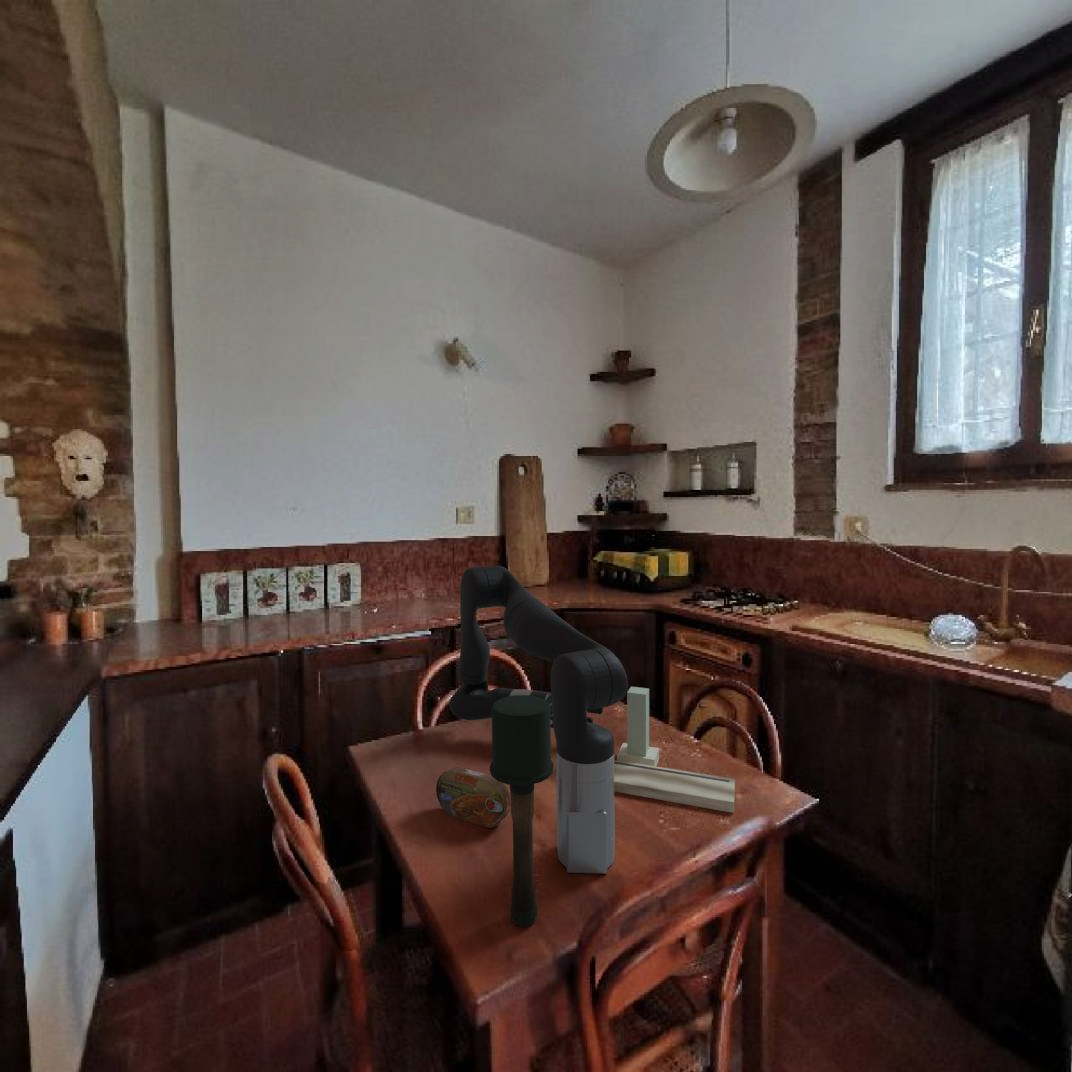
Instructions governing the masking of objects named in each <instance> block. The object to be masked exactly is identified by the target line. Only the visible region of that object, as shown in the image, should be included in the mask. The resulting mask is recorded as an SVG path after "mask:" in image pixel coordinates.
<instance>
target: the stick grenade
mask: <svg viewBox="0 0 1072 1072" xmlns="http://www.w3.org/2000/svg"><path fill="white" fill-rule="evenodd" d="M551 731H552V730H551V728H550V705H549V703H548V702H547V701H546V700H544V699H542V698H540V697H536V696H529V695H515V696H509V697H505V698H502V699H499V700H498V701H496V702H494V704H493V706H492V718H491V749H492V750H491V753H492V754H491V755H492V756H491V760H492V761H491V762H490V765H489V772H490V775H492V777H493V778H495V779H496V780H497V781H499V782H502V783H504V785H509V790H510V793H509V795H510V815H511V816H510V817H511V820H512V848H513V849H512V850H513V851H512V852H513V853H512V857H513V859H512V861H513V862H512V863H513V865H512V866H513V870H512V871H513V880H512V885H511V893H510V894H511V896H510V897H511V901H510V903H511V904H510V907H509V908H510V909H509V912H510V917H511V919H512V922H513V924H515V925H516V926H518V927H522V928H524V927H525V928H526V927H529V926H531V925H532V924H534V923H535V921H536V920H537V919H536V918H537V917H538V916H537V915H538V906H537V905H538V904H537V894H536V893H537V889H536V885H535V881H534V880H535V879H534V852H533V851H534V850H533V849H534V847H533V846H534V844H533V843H534V841H533V838H534V835H533V821H534V814H535V791H534V790H535V784H539V783H542V782H544V781H545V780H546V781H547V780H548V779H550V777H551V776H552V775H553V773H554V767H555V766H554V762H553V761H552V748H551V747H552V746H551V744H552V743H551V742H552V741H551V737H552V736H551Z"/></svg>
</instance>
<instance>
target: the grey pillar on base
mask: <svg viewBox="0 0 1072 1072" xmlns="http://www.w3.org/2000/svg"><path fill="white" fill-rule="evenodd" d="M626 702H627V703H626V705H627V706H626V707H627V709H626V713H627V714H626V716H627V717H626V719H627V720H626V724H627V725H626V727H627V730H626V735H627V737H626V742H623V743H622V745H621V746H620V748H619V750H618V752H617V753H616V760H619V761H625V762H631V763H637V764H644V765H650V766H656V767H658V762H659V760H660V748H659V747H655V746H650V688H646V687H638V686H630V688H629V689H627V692H626Z"/></svg>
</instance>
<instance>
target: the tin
mask: <svg viewBox="0 0 1072 1072" xmlns="http://www.w3.org/2000/svg"><path fill="white" fill-rule="evenodd" d="M435 785H436V787H435V793H436V799H437V801H438V803H439V806H440V807H441V809H442V810H443V811H444V812H445V813H446V814H447V815H449V816H450V817H452V818H456V819H459V820H461V821H465V822H468V823H471V824H475V825H477V826H481V827H484V828H489V829H490V828H495V827H497V826H498V825H499V824H501V822H502V821H504V820H505V818H506V817H507V816H508V814H509V812H510V810H511V795H510V793H509V789H508V787H507V786H506V784H505V783H502V782H499V781H497V780H496V779H495V778H493V777H492V775H491V774H487V773H483V772H480V771H476V770H471V769H468V768H465V767H460V766H459V767H458V766H457V767H453V768H450V769H449V770H446V771H444V772H442V774H440V775H439V776H438V779H437V781H436V784H435Z"/></svg>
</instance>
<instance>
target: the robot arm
mask: <svg viewBox="0 0 1072 1072" xmlns="http://www.w3.org/2000/svg"><path fill="white" fill-rule="evenodd" d="M459 597H460V598H459V601H460V606H459V608H460V611H459V612H460V615H459V616H460V638H461V639H460V641H461V642H460V652H459V660H458V667H457V674H458V678H459V680H460V681H461V683H462V684H461V685H460V686H459V687H458V689H457V690H456V691H455V692H454V694H452V695H451V697H450V700H449V704H448V705H449V710H450V712H451V713H452V714H453V715H454V716H455V717H457V718H458V719H461V720H465V721H477V720H478V721H479V720H487V719H492V706H493V704H494V702H496V701H498V700H499V699H502V698H505V697H509V696H515V695H529V696H536V697H540V698H542V699H544V700H546V701H547V702H548V703H549V705H550V729H553V732H554V733H553V734H554V737H555V745H556V746H555V747H556V750H555V751H556V752H555V753H556V830H557V831H556V833H557V835H556V836H557V837H556V839H557V840H556V841H557V857H558V860H559V861H560V863H561V864H562V865H563V866H565V868H566V872H567V873H573V874H607V873H608V868H610V866H612V865H613V864H614V861H615V858H616V857H615V856H616V855H615V854H616V848H615V847H616V842H615V841H616V840H615V838H616V835H615V831H616V830H615V829H616V828H615V827H616V826H615V825H616V824H615V821H616V818H615V792H614V760H615V738H614V735H613V733H612V732H611V731H610V730H609V729H608V728H607V727H604V726H602V725H600V724H597V723H594V718H593V717H591V716H587V713H590V714H596V715H602V714H603V713H604V708H607V707H611V706H614V705H615V704H617V703H619V702H621V700H623V698H624V697H625V696H626V695H627V692H628V686H629V682H628V677H627V676H628V675H627V673H626V670H625V668H624V665H623V664H622V662H621V660H620V659H619V658H618V657H617V656H616V655H615V653H613V651H611V650H610V649H608V648H607V647H605V645H602V644H601V643H598V642H597V641H595V640H593V639H591V638H590V637H589V636H586V635H585V634H583V633H582V632H580V631H578V630H577V629H576V628H574V627H573V626H572V625H570V624H569V623H568V622H566V621H565V620H564V619H562V618H561V617H560V616H559V615H557V613H555V612H554V611H553V610H552V609H551V608H550V607H549V606H547V605H546V604H545V603H544V602H542V601H541V600H540V599H537V597H536V596H534V595H533V594H532V593H531V592H530V591H528V589H526V588H525V587H524V586H523V585H522V583H520V581H519V580H518V579H517V578H516V577H515V576H514V575H513V574H512V572H511V571H510V570H508V568H506V567H504V566H502V565H484V566H472V567H468V568H466V569H465V570H464V571H463V572H462V576H461V579H460V587H459ZM494 607H503V608H505V609H504V612H503V617H502V618H503V620H502V621H503V627H504V631H505V632H506V634H507V636H509V638H510V639H511V640H512V641H513V642H514V643H515V644H516V646H517V647H519V648H520V649H521V650H522V651H524V652H525V653H527V654H528V655H531V656H533V657H536V658H539V659H541V660H545V661H548V662H551V663H552V666H551V670H550V690H551V692H548V691H542V690H541V691H540V690H532V689H516V688H508V687H495V688H493V689H491V690H490V691H489V679H488V678H489V677H488V670H489V663H490V656H491V651H490V645H489V642H488V640H487V638H486V636H485V634H484V632H483V631H482V629H481V627H480V625H479V623H478V620H477V612H478V609H483V608H484V609H485V608H486V609H487V608H494Z"/></svg>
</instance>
